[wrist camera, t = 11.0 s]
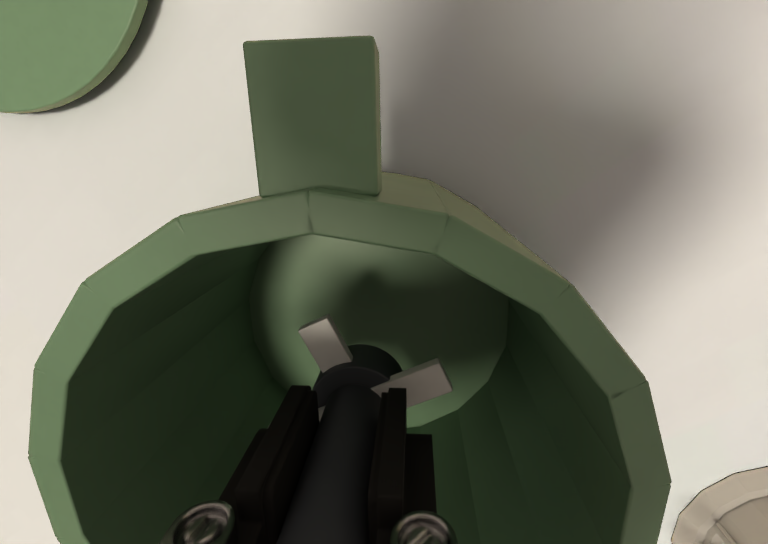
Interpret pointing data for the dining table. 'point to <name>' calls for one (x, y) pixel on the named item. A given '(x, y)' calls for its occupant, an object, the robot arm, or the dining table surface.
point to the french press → (727, 512)
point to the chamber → (356, 325)
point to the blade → (348, 433)
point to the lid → (61, 48)
